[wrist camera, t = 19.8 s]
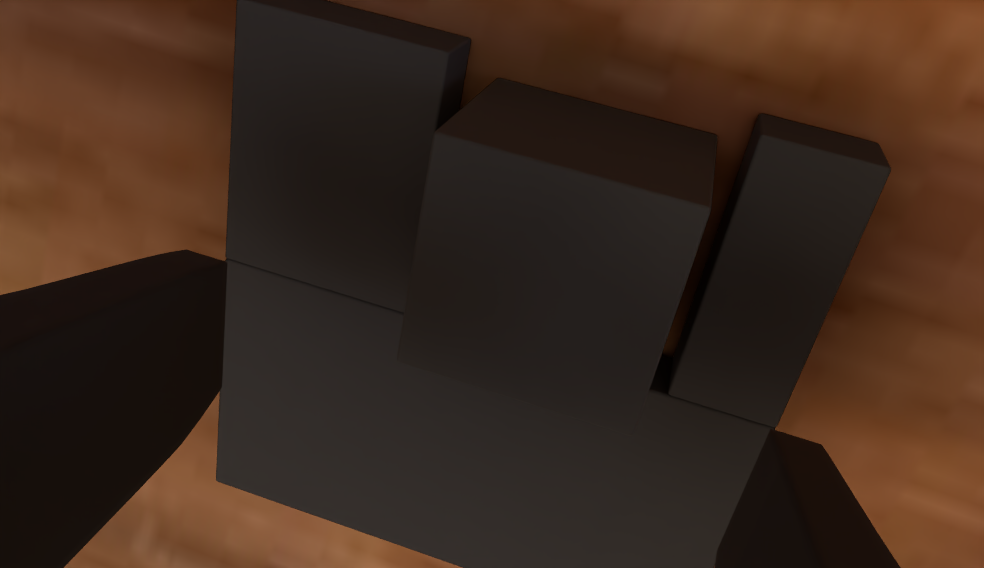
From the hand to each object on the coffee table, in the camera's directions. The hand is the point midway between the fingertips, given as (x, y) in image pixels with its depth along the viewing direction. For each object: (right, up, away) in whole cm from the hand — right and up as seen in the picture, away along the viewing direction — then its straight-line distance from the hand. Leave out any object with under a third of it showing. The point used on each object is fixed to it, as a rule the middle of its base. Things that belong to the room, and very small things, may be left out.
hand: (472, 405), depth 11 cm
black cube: (+2, +3, +7) cm, 8 cm away
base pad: (0, +1, +8) cm, 8 cm away
